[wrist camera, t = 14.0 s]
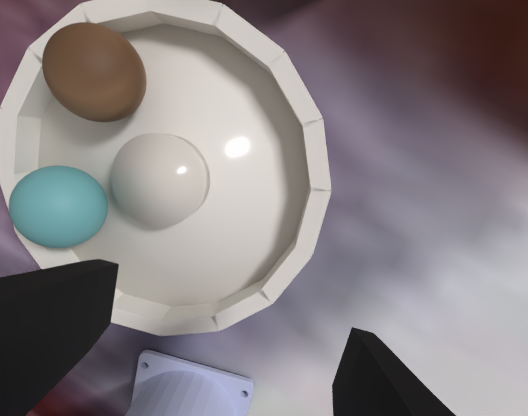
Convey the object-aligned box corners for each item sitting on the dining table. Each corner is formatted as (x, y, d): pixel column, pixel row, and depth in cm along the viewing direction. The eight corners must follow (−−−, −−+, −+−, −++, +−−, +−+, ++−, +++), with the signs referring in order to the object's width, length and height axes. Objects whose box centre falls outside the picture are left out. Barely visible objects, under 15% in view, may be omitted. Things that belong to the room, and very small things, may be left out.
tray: (281, 343, 20) (279, 369, 18) (25, 272, 21) (-9, 288, 19) (364, 53, 16) (376, 37, 14) (46, -20, 17) (6, -46, 15)
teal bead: (117, 242, 19) (67, 270, 15) (50, 225, 19) (-20, 247, 15) (128, 173, 18) (77, 181, 14) (57, 155, 18) (-15, 157, 14)
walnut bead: (134, 147, 17) (108, 114, 13) (53, 115, 16) (-2, 69, 12) (166, 79, 18) (152, 26, 13) (90, 46, 17) (50, -20, 13)
